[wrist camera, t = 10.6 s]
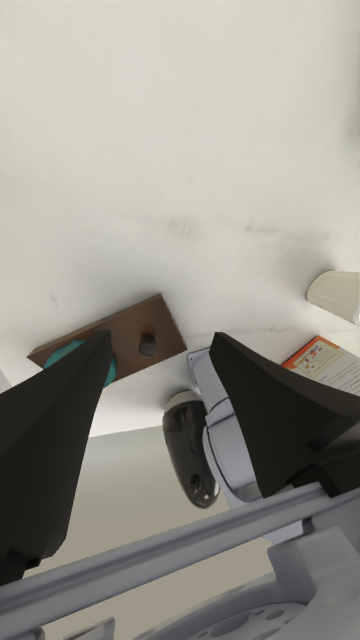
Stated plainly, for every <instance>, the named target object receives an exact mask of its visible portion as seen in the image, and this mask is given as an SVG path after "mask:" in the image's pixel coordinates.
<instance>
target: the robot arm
mask: <svg viewBox="0 0 360 640" xmlns="http://www.w3.org/2000/svg"><path fill="white" fill-rule="evenodd" d="M112 357H113V350H112V340H111V330H99V331H97V332H96V333H95V334H94V335H92V336H91V337H90V338H88V339H87V340H86V341H85V342H83V343H82V344H81V345H79V346H78V347H77V348H75V349H74V350H73V351H71V352H70V353H68V354H67V355H65V356H64V357H62V358H61V359H59V360H58V361H57V362H55V363H54V364H52V365H50V366H49V367H47V368H46V369H44V370H42V371H41V372H39V373H37V374H36V375H34V376H32V377H31V378H29V379H27V380H25V381H24V382H22V383H20V384H18V385H16V386H14V387H12V388H10V389H9V390H7V391H5V392H3V393H1V394H0V640H45V632H44V630H43V629H42V627H40V626H43V625H45V624H48V623H50V622H53V621H55V620H58V619H60V618H63V617H65V616H68V615H70V614H72V613H75V612H77V611H80V610H82V609H85V608H87V607H90V606H92V605H94V604H97V603H99V602H102V601H104V600H106V599H109V598H112V597H114V596H116V595H119V594H121V593H124V592H126V591H129V590H131V589H134V588H136V587H138V586H141V585H143V584H146V583H148V582H151V581H153V580H155V579H158V578H160V577H163V576H165V575H168V574H170V573H173V572H175V571H178V570H180V569H182V568H185V567H187V566H190V565H192V564H195V563H197V562H200V561H202V560H205V559H207V558H209V557H212V556H214V555H217V554H219V553H221V552H224V551H227V550H229V549H231V548H234V547H236V546H239V545H241V544H244V543H246V542H248V541H251V540H253V539H256V538H258V537H261V536H262V537H263V538H265V539H267V540H268V541H270V542H271V543H272V544H274V545H273V546H271V547H270V548H268V549H267V554H268V556H269V559H270V562H271V564H272V567H273V569H274V571H273V572H271V573H269V574H266V575H264V576H261V577H259V578H257V579H254V580H252V581H250V582H247V583H245V584H243V585H240V586H238V587H235V588H233V589H231V590H229V591H226V592H224V593H221V594H219V595H217V596H215V597H212V598H210V599H208V600H206V601H203V602H201V603H199V604H197V605H195V606H193V607H191V608H189V609H187V610H185V611H182V612H180V613H178V614H176V615H174V616H173V617H171V618H169V619H167V620H165V621H163V622H161V623H159V624H157V625H156V626H154V627H152V628H150V629H148V630H146V631H145V632H143V633H141V634H139V635H137V636H135V637H134V638H132V639H130V640H360V396H357V395H354V394H351V393H348V392H345V391H342V390H339V389H336V388H333V387H330V386H327V385H325V384H322V383H319V382H317V381H314V380H312V379H309V378H307V377H304V376H302V375H300V374H297V373H295V372H293V371H290V370H288V369H286V368H284V367H282V366H280V365H278V364H276V363H274V362H272V361H270V360H268V359H266V358H265V357H263V356H261V355H259V354H258V353H256V352H254V351H253V350H251V349H249V348H248V347H246V346H245V345H243V344H241V343H240V342H238V341H237V340H235V339H234V338H232V337H230V336H229V335H227V334H225V333H223V332H215V335H214V338H213V341H212V344H211V347H210V348H209V349H205V350H202V351H198V352H195V353H191V354H189V355H188V356H187V357H188V362H189V366H190V370H191V375H192V379H193V383H194V387H199V390H200V393H201V395H202V398H203V401H204V404H205V407H206V410H207V413H208V415H207V416H205V419H206V422H207V425H206V426H205V427H204V430H203V447H204V451H205V455H206V458H207V461H208V464H209V467H210V469H211V472H212V474H213V476H214V478H215V480H216V482H217V483H218V485H219V486H220V487H221V489H222V491H223V493H224V495H225V497H226V499H227V501H228V504H229V506H230V508H231V510H229V511H226V512H223V513H220V514H217V515H214V516H211V517H208V518H205V519H202V520H199V521H196V522H193V523H190V524H187V525H184V526H181V527H178V528H175V529H172V530H169V531H165V532H162V533H159V534H156V535H153V536H150V537H147V538H144V539H141V540H139V541H135V542H132V543H129V544H126V545H123V546H120V547H117V548H114V549H111V550H108V551H105V552H102V553H99V554H96V555H93V556H90V557H87V558H84V559H81V560H78V561H75V562H72V563H69V564H66V565H63V566H60V567H57V568H54V569H51V570H48V571H45V572H42V573H39V574H36V575H33V576H30V577H27V578H24V579H22V577H23V574H24V572H25V570H28V569H31V568H34V567H37V566H39V564H40V562H41V560H42V559H45V558H48V557H51V556H53V555H54V554H55V553H56V551H57V550H58V549H59V547H60V546H61V545H62V543H63V542H64V540H65V539H66V535H67V530H68V525H69V520H70V515H71V511H72V506H73V501H74V496H75V492H76V487H77V483H78V478H79V474H80V470H81V465H82V461H83V457H84V453H85V448H86V444H87V440H88V436H89V432H90V428H91V424H92V420H93V417H94V413H95V410H96V407H97V404H98V401H99V398H100V395H101V393H102V390H103V387H104V384H105V382H106V379H107V376H108V373H109V370H110V366H111V362H112ZM190 358H191V359H190ZM114 628H115V620H114V618H113V617H110V618H107V619H105V620H102V621H100V622H97V623H94V624H92V625H89V626H86V627H84V628H82V629H79V630H77V631H75V632H73V633H71V634H68V635H66V636H64V637H63V638H61V639H59V640H113V639H114Z"/></svg>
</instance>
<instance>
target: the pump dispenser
mask: <svg viewBox="0 0 360 640" xmlns="http://www.w3.org/2000/svg"><path fill="white" fill-rule="evenodd" d="M207 415H208V413H207V410H206V407H205V404H204V401H203V398H202V396H201V395H199V394H198V393H196V392H192V391H184V392H180V393H178V394H176V395H175V396H173V397H172V398H171V399H170V400H169V402H168V403H167V405H166V408H165V411H164V416H163V419H162V424H163V431H164V436H165V441H166V445H167V449H168V452H169V455H170V459H171V462H172V465H173V468H174V471H175V474H176V476H177V479H178V481H179V484H180V486H181V488H182V490H183V492H184V493H185V495H186V497H187V498H188V500H189V501H190V502H191V504H193V505H194V506H195V507H197V508H200V509H208V508H210V507H211V506H213V505H214V503H215V502H216V500H217V499H218V497H219V494H220V489H221V487H220V486H219V485H218V483H217V482H216V480H215V478H214V476H213V474H212V472H211V469H210V467H209V464H208V461H207V458H206V455H205V451H204V447H203V430H204V427H205V426H206V425H207V422H206V419H205V416H207Z"/></svg>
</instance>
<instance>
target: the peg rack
mask: <svg viewBox="0 0 360 640" xmlns="http://www.w3.org/2000/svg"><path fill="white" fill-rule="evenodd" d="M99 330H111V340H112V350H113V358H114V359H115V361H116V366H117V371H116V376H115V378H114V379H113V380H112V382H111V383H113V382H115V381H117V380H119V379H122V378H124V377H126V376H129V375H131V374H133V373H136V372H138V371H140V370H143V369H145V368H147V367H149V366H152V365H154V364H156V363H159V362H161V361H163V360H166V359H168V358H170V357H173V356H175V355H177V354H179V353H182V352H184V351H186V350H188V349H187V346H186V344H185V342H184V340H183V338H182V335H181V333H180V331H179V329H178V327H177V325H176V323H175V321H174V319H173V317H172V315H171V313H170V311H169V308H168V306H167V304H166V302H165V300H164V298H163V296H162V294H161V293H160V294H158V295H156V296H154V297H151V298H149V299H147V300H145V301H142V302H140V303H138V304H136V305H133V306H131V307H129V308H127V309H124V310H122V311H120V312H118V313H115V314H113V315H111V316H109V317H106V318H104V319H102V320H99V321H97V322H95V323H93V324H90V325H88V326H86V327H84V328H81V329H79V330H77V331H75V332H72V333H70V334H68V335H66V336H63V337H61V338H59V339H57V340H54V341H52V342H50V343H48V344H45V345H43V346H41V347H39V348H36V349H34V350H33V351H32V352H31V353H30V354H29V355H28V356H27V358H28V359H30V360H31V361H33V362H34V363H36V364H37V365H38V366H40V367H41V368H43V369H44V366H45V364H46V362H47V360H48V358H49V357H50V356H51V354H52V353H53V352H55V350H57V349H59V348H62V347H64V346H66V345H69V344H70V343H71V342H72V341H73V340H87V339H88V338H90V337H91V336H92V335H94V334H95V333H96V332H97V331H99Z"/></svg>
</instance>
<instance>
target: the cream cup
mask: <svg viewBox="0 0 360 640" xmlns="http://www.w3.org/2000/svg"><path fill="white" fill-rule="evenodd" d="M307 300H308V302H310V303H312V304H314V305H316V306H318V307H320V308H322V309H324V310H326V311H328V312H331V313H333V314H335V315H337V316H339V317H341V318H343V319H345V320H347V321H349V322H351V323H353V324H355V325H357V326H360V273H357V272H344V271H327V272H325V273H323V274H321V275H320V276H318V277H317V278H316V279H315V280H314V281H313V283H312V284H311V285H310V287H309V289H308V291H307Z"/></svg>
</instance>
